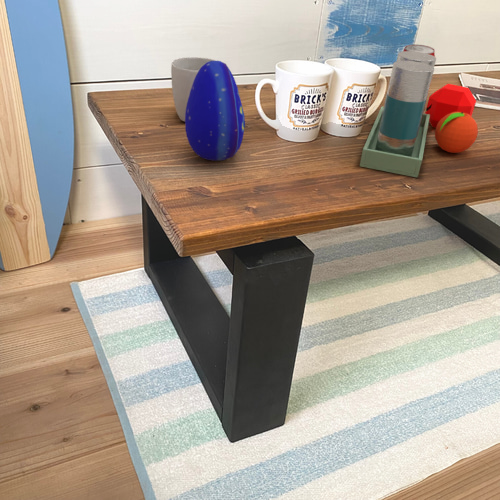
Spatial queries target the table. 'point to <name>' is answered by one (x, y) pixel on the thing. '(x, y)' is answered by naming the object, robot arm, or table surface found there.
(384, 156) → the can tray
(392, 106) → the drink can
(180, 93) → the mug
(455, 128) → the clementine
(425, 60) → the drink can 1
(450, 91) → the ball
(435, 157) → the table surface
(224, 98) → the ornament
